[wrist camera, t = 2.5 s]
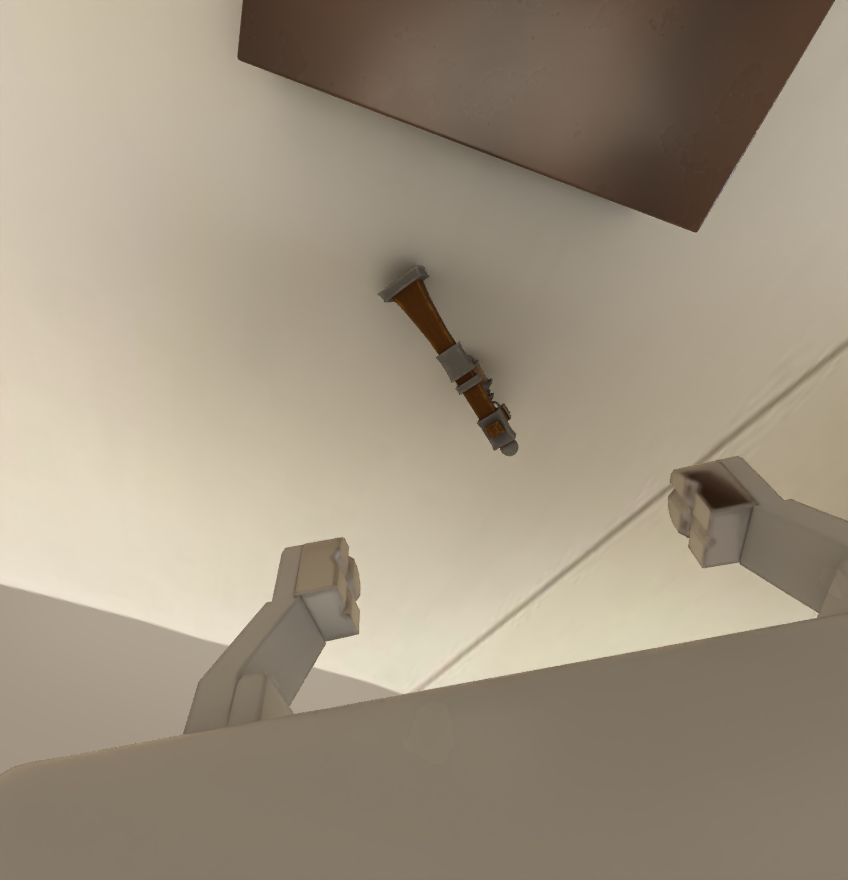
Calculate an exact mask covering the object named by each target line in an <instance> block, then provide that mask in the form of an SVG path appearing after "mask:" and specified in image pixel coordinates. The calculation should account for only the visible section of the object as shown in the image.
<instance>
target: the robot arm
mask: <svg viewBox="0 0 848 880" xmlns="http://www.w3.org/2000/svg"><path fill="white" fill-rule="evenodd" d="M670 483H671V484H672V486H673V487H674V490H673V491H672V492H671V494H670V495H669V496H668V509H669V514H670V518H671V520H672V522H673V524H674V526H675V528H676V529H677V531H678V532H679V533H680V534H682V535H684V536H686V537H688V538H689V544H688V547H689V549H690V550H691V552H692V553H693V555H694V556H695V558H696V559H697V561H698V562H699V564H700V565H701V567H702V568H707V567H714V566H720V565H726V564H732V563H738V562H740V564H741V565H742V566H744V567H745V568H747V569H749V570H750V571H752V572H753V573H755V574H757V575H758V576H760V577H761V578H763V579H765V580H766V581H768V582H769V583H771V584H773V585H774V586H776V587H777V588H779V589H781V590H782V591H784V592H786V593H787V594H789V595H790V596H792V597H794V598H795V599H797V600H798V601H800V602H802V603H803V604H805V605H806V606H808V607H810V608H811V609H813V610H814V611H816V612H818V613H819V614H818V616H817V618H815V619H809V620H804V621H798V622H793V623H787V624H782V625H777V626H771V627H766V628H760V629H755V630H749V631H744V632H738V633H733V634H728V635H722V636H717V637H711V638H706V639H701V640H695V641H690V642H684V643H679V644H674V645H668V646H663V647H657V648H652V649H647V650H641V651H636V652H630V653H625V654H620V655H614V656H609V657H603V658H598V659H593V660H587V661H582V662H576V663H571V664H565V665H560V666H554V667H549V668H543V669H538V670H532V671H527V672H522V673H516V674H511V675H505V676H500V677H494V678H489V679H483V680H478V681H472V682H467V683H462V684H456V685H451V686H445V687H440V688H434V689H429V690H423V691H418V692H413V693H407V694H402V695H396V696H391V697H385V698H380V699H375V700H369V701H364V702H358V703H353V704H347V705H342V706H336V707H331V708H326V709H321V710H315V711H309V712H305V713H298V714H294V713H293V711H292V710H291V708H290V707H289V706H290V704H291V702H292V701H293V699H294V698H295V696H296V694H297V692H298V691H299V689H300V687H301V686H302V684H303V682H304V680H305V679H306V677H307V675H308V673H309V672H310V670H311V668H312V667H313V665H314V663H315V662H316V660H317V658H318V656H319V655H320V653H321V651H322V650H323V648H324V646H325V644H326V641H330V640H335V639H339V638H344V637H348V636H353V635H357V634H359V619H360V610H359V608H358V606H357V603H356V601H357V599H358V598H359V597H360V578H359V572H358V568H357V565H356V562H355V560H354V559H353V558H352V557H350V556H349V546H348V544H347V542H346V540H345V538H343V537H341V538H335V539H330V540H324V541H318V542H313V543H307V544H304V545H298V546H293V547H287V548H285V549H284V550H283V552H282V554H281V559H280V564H279V569H278V574H277V579H276V584H275V589H274V594H273V599H272V602H267V603H266V604H265V605H264V606H263V607H262V608H261V609H260V611H259V612H258V613H257V614H256V615H255V616H254V618H253V619H252V620H251V621H250V622H249V623H248V625H247V626H246V627H245V628H244V629H243V630H242V632H241V633H240V634H239V635H238V636H237V637H236V639H235V640H234V641H233V642H232V643H231V644H230V646H229V647H228V648H227V649H226V650H225V652H224V653H223V654H222V655H221V656H220V657H219V658H218V660H217V661H216V662H215V663H214V664H213V665H212V667H211V668H210V669H209V670H208V671H207V672H206V674H205V675H204V676H203V677H202V678H201V679H200V681H199V682H198V686H197V689H196V693H195V696H194V699H193V703H192V706H191V709H190V712H189V716H188V719H187V722H186V726H185V729H184V732H183V735H179V736H174V737H168V738H163V739H158V740H152V741H146V742H141V743H135V744H130V745H125V746H119V747H114V748H109V749H103V750H98V751H92V752H87V753H81V754H76V755H71V756H65V757H59V758H53V759H47V760H40V761H35V762H30V763H26V764H22V765H18V766H15V767H13V768H10V769H8V770H6V771H5V772H3V773H2V774H0V880H848V521H846V520H843V519H840V518H838V517H835V516H833V515H830V514H828V513H825V512H822V511H820V510H817V509H815V508H812V507H810V506H807V505H804V504H802V503H799V502H797V501H794V500H792V499H789V500H783V499H782V498H781V497H780V496H779V495H778V493H777V492H776V491H775V490H774V489H773V488H772V487H771V486H770V485H769V484H768V483H767V482H766V481H765V480H764V479H763V478H762V477H761V476H760V475H759V474H758V473H757V472H756V471H755V470H754V469H753V468H752V467H751V466H750V465H749V464H748V463H747V462H746V461H745V460H744V459H743V458H741V457H739V456H735V457H730V458H725V459H721V460H716V461H712V462H707V463H702V464H698V465H693V466H688V467H684V468H679V469H674V470H673V471H672V473H671V477H670Z"/></svg>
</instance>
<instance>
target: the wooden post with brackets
mask: <svg viewBox="0 0 848 880" xmlns="http://www.w3.org/2000/svg"><path fill="white" fill-rule="evenodd" d="M428 277H429V276H428V275H427V273H426V271H425V267H421V266H418V265H416V266H415V267H413V268H412V269H411V270H409V271H408V272H406V273H405V274H404V275H402V276H401V277H400V278H398V279H397V280H396V281H394V282H393V283H392V284H390V285H389V286H388V287H386V288H385V289H384V290H382V291H381V292H380V293H378V294H377V295H379V296H381V297H382V299H383V300H384V302H396V303H397V304H398V305H399V306H400V307H401V308H402V309H403V310H404V311H405V312H406V314H407V315H408V316H409V317H410V318H411V320H412V321H413V322H414V323H415V324H416V326H417V327H418V328H419V329H420V331H421V332H422V333H423V334H424V335H425V337H426V338H427V339H428V340H429V342H430V343H431V345H432V346H433V347H434V349H435V350H436V352H437V353H438V355H439V356H437V357H436V358H437V359H438V360H439V362H440V363H441V364H442V366H443V367H444V369H445V371H446V372H447V374H448V375H449V378H450V380H451V383H452V382H454V381H455V382H456V383H457V385H458V386H457V387H456V390H457V391H458V393H459V395H460V394H461V393H463V394H464V396H465V397H466V399H467V401H468V402H469V404H470V405H471V407H472V408H473V410H474V412H475V413H476V415H477V416H478V418H479V421H478V422H477V424H478V425H479V426H480V427H481V428H482V430H483V432H484V433H485V435H486V437H487V438H488V440H489V441H490V443H491V445H492V447H493V450H494V451H495V450H497V449H498V448H500V450H501V452H502V453H503V454H504V455H506V456H513V455H515V454H516V453H517V451H518V443H517V442H516V441H515V440H514V439H515V438H516V433H515V432H514V431H513V430H512V428H511V427H510V425H509V423H508V420H510V419H511V415H510V411H509V410H508V408H507V407H506V405H505V404H502V405H500V404H499V403H498V402H496V401H492V399H493V396H494V393H491V394H489V393H490V391H491V390H489V387H490V385H491V384H492V381H493V379H492V378H491V379H489V380H488V379H487V377H486V376H485V374H484V372H483V371H482V369H481V367H480V365H479V360H477V361H476V362H474V363H473V361H472V358H471V357H470V356H469V355H466V353H465V352H464V350H463V349H462V347H461V344H460V342H458V343H456V342H455V341H454V339H453V337H452V336H451V334H450V333H449V331H448V330H447V328H446V326H445V324H444V322H443V320H442V319H441V317H440V315H439V313H438V311H437V309H436V307H435V306H434V304H433V302H432V300H431V298H430V296H429V294H428V291H427V289H426V287H425V285H424V282H423V281H424V280H425V279H427V278H428ZM494 403H496V404H497V405H498V407H497V408H496V407H495V406H494Z"/></svg>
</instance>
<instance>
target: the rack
mask: <svg viewBox="0 0 848 880" xmlns="http://www.w3.org/2000/svg"><path fill="white" fill-rule="evenodd" d="M834 1H835V0H243V4H242V15H241V25H240V35H239V45H238V55H237V57H238V59H239V60H240V61H242V62H245V63H248V64H250V65H253V66H256V67H258V68H261V69H264V70H266V71H269V72H272V73H274V74H277V75H280V76H282V77H285V78H287V79H290V80H293V81H295V82H298V83H301V84H303V85H306V86H309V87H311V88H314V89H317V90H319V91H322V92H324V93H327V94H330V95H332V96H335V97H338V98H340V99H343V100H346V101H348V102H351V103H354V104H356V105H359V106H362V107H364V108H367V109H369V110H372V111H375V112H377V113H380V114H383V115H385V116H388V117H391V118H393V119H396V120H399V121H401V122H404V123H407V124H409V125H412V126H414V127H417V128H420V129H422V130H425V131H428V132H430V133H433V134H436V135H438V136H441V137H444V138H446V139H449V140H451V141H454V142H457V143H459V144H462V145H465V146H467V147H470V148H473V149H475V150H478V151H481V152H483V153H486V154H489V155H491V156H494V157H496V158H499V159H502V160H504V161H507V162H510V163H512V164H515V165H518V166H520V167H523V168H526V169H528V170H531V171H533V172H536V173H539V174H541V175H544V176H547V177H549V178H552V179H555V180H557V181H560V182H563V183H565V184H568V185H571V186H573V187H576V188H578V189H581V190H584V191H586V192H589V193H592V194H594V195H597V196H600V197H602V198H605V199H608V200H610V201H613V202H615V203H618V204H621V205H623V206H626V207H629V208H631V209H634V210H637V211H639V212H642V213H645V214H647V215H650V216H653V217H655V218H658V219H660V220H663V221H666V222H668V223H671V224H674V225H676V226H679V227H682V228H684V229H687V230H690V231H692V232H698V230H699V229H700V227H701V225H702V224H703V222H704V220H705V219H706V217H707V215H708V214H709V212H710V210H711V208H712V207H713V205H714V203H715V202H716V200H717V198H718V197H719V195H720V193H721V192H722V190H723V188H724V187H725V185H726V183H727V181H728V180H729V178H730V176H731V175H732V173H733V171H734V170H735V168H736V166H737V165H738V163H739V161H740V160H741V158H742V156H743V155H744V153H745V151H746V149H747V148H748V146H749V144H750V143H751V141H752V139H753V138H754V136H755V134H756V133H757V131H758V129H759V128H760V126H761V124H762V123H763V121H764V119H765V117H766V116H767V114H768V112H769V111H770V109H771V107H772V106H773V104H774V102H775V101H776V99H777V97H778V96H779V94H780V92H781V90H782V89H783V87H784V85H785V84H786V82H787V80H788V79H789V77H790V75H791V74H792V72H793V70H794V69H795V67H796V65H797V64H798V62H799V60H800V58H801V57H802V55H803V53H804V52H805V50H806V48H807V47H808V45H809V43H810V42H811V40H812V38H813V37H814V35H815V33H816V32H817V30H818V28H819V26H820V25H821V23H822V21H823V20H824V18H825V16H826V15H827V13H828V11H829V10H830V8H831V6H832V5H833V3H834Z"/></svg>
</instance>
